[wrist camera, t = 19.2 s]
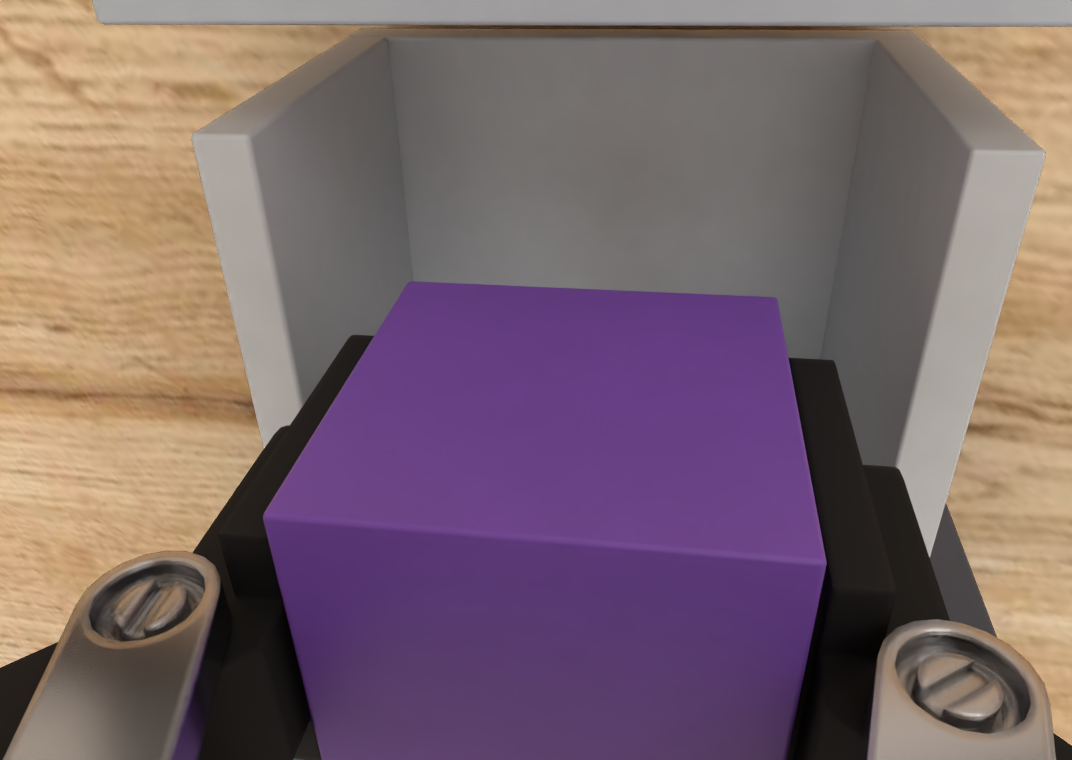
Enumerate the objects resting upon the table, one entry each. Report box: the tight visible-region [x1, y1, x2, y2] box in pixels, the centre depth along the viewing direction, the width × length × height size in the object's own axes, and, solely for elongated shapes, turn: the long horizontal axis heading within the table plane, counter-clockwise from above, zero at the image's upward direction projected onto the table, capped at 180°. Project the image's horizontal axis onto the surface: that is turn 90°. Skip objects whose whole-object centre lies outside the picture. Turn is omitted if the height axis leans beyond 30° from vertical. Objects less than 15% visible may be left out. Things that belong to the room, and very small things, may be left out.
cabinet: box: [293, 503, 997, 760], centre depth 21 cm, size 15×13×9 cm
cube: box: [263, 281, 827, 760], centre depth 10 cm, size 4×4×4 cm
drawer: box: [92, 0, 1072, 558], centre depth 14 cm, size 18×11×7 cm, turn 1°
